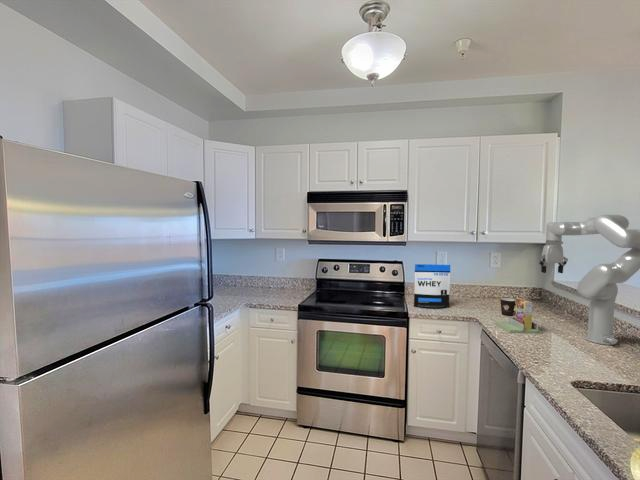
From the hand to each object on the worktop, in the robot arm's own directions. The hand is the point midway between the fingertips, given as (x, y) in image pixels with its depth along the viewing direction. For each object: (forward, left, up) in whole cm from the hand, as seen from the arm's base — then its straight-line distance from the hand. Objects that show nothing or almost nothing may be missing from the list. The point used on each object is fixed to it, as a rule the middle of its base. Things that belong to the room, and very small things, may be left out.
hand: (552, 272), depth 194 cm
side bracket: (-12, +23, -29) cm, 39 cm away
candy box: (-12, +23, -29) cm, 39 cm away
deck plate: (-10, +25, -30) cm, 41 cm away
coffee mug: (+17, +14, -31) cm, 38 cm away
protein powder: (+35, +58, -31) cm, 74 cm away
